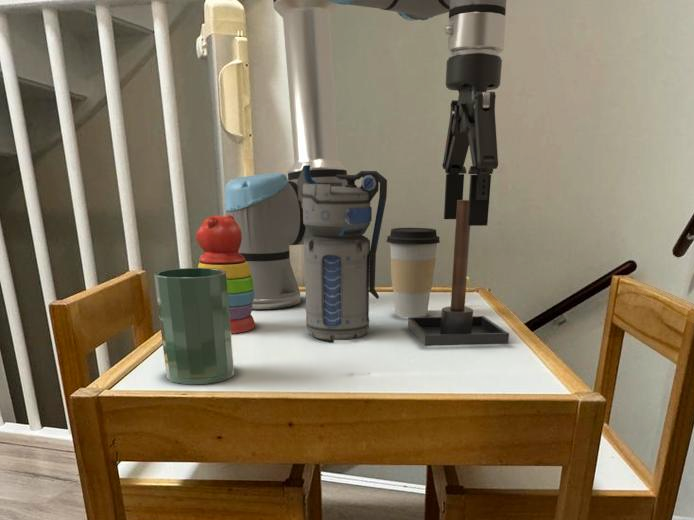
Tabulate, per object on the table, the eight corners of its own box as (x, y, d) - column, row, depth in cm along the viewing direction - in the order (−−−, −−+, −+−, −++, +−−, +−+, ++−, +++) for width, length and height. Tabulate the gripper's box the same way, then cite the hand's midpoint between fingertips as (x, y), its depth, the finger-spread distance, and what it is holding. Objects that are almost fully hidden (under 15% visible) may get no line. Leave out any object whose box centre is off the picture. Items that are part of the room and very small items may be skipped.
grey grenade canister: (379, 345, 103) (383, 166, 92) (296, 341, 105) (289, 165, 94) (386, 330, 112) (390, 165, 101) (309, 327, 114) (305, 165, 103)
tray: (407, 329, 113) (408, 317, 112) (482, 327, 115) (483, 315, 114) (424, 348, 101) (425, 335, 100) (508, 346, 103) (509, 333, 102)
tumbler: (171, 367, 91) (159, 268, 86) (235, 365, 92) (227, 267, 87) (163, 385, 83) (149, 278, 78) (232, 383, 85) (224, 277, 79)
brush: (436, 331, 110) (444, 199, 101) (466, 330, 110) (476, 199, 102) (444, 338, 105) (452, 200, 96) (475, 337, 106) (486, 201, 97)
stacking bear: (225, 318, 120) (216, 211, 112) (270, 325, 115) (264, 214, 107) (181, 330, 111) (169, 215, 103) (228, 337, 107) (218, 218, 99)
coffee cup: (443, 320, 119) (448, 231, 113) (392, 322, 117) (395, 232, 111) (426, 310, 128) (430, 226, 121) (379, 312, 126) (380, 227, 119)
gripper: (427, 67, 102) (422, 216, 111) (473, 38, 79) (462, 228, 88) (475, 68, 103) (465, 216, 112) (534, 40, 80) (516, 228, 89)
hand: (464, 222), depth 100 cm, fingers open, 13 cm apart
